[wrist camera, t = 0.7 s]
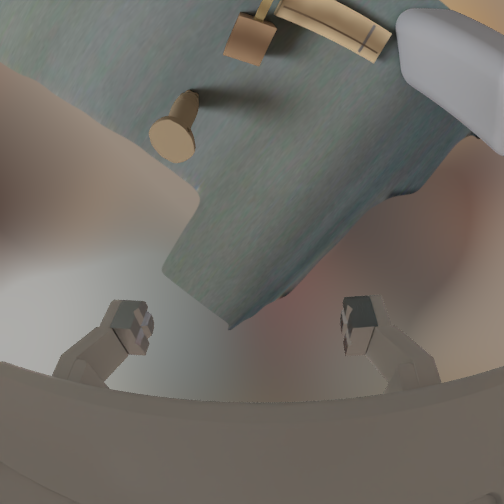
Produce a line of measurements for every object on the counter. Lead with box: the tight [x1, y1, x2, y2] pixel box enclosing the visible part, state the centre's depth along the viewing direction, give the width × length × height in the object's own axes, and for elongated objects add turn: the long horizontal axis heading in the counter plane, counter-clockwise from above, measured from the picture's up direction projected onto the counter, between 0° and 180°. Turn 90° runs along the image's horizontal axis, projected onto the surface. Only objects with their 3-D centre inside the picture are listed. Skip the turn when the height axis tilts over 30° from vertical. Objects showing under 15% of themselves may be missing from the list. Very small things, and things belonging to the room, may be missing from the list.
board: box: [274, 0, 392, 63], centre depth 32 cm, size 6×16×4 cm, turn 68°
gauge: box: [223, 0, 277, 66], centre depth 32 cm, size 11×5×7 cm, turn 158°
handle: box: [149, 90, 199, 163], centre depth 39 cm, size 5×6×15 cm
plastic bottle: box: [396, 8, 504, 156], centre depth 26 cm, size 15×15×28 cm
